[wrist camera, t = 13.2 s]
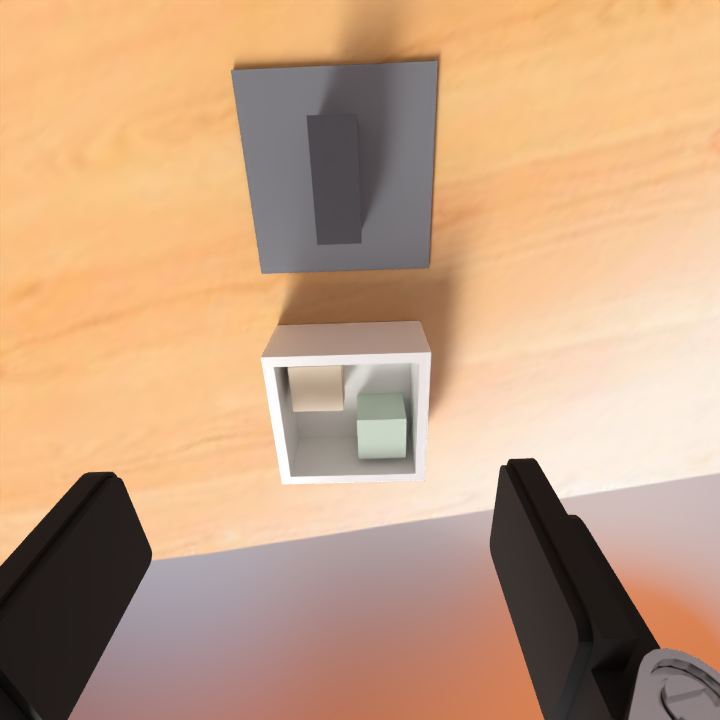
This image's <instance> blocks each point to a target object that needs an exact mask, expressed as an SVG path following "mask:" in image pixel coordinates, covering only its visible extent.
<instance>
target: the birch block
mask: <svg viewBox="0 0 720 720" xmlns="http://www.w3.org/2000/svg"><path fill="white" fill-rule="evenodd" d="M287 368H288V375H289V383H290V390H291V397H292V405H293V412H303V411H340V410H344V399H345V385H346V384H345V368H344V365H329V366H295V367H287Z"/></svg>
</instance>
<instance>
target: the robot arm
mask: <svg viewBox="0 0 720 720" xmlns="http://www.w3.org/2000/svg"><path fill="white" fill-rule="evenodd" d="M490 551H491V556H492V559H493V562H494V565H495V569H496V572H497V575H498V578H499V581H500V584H501V587H502V590H503V593H504V596H505V600H506V603H507V606H508V609H509V612H510V615H511V618H512V621H513V624H514V627H515V631H516V634H517V637H518V640H519V643H520V646H521V649H522V652H523V655H524V658H525V662H526V665H527V668H528V671H529V674H530V677H531V680H532V683H533V686H534V689H535V692H536V696H537V699H538V701H539V705H540V708H541V711H542V714H543V717H544V719H545V720H720V674H719V673H718V672H717V671H716V670H715V669H713V668H712V667H710V666H708V665H707V664H706V663H704V662H703V661H701V660H700V659H698V658H696V657H693V656H691V655H689V654H687V653H685V652H682V651H678V650H673V649H668V648H665V649H661V648H660V646H659V645H658V643H657V642H656V640H655V639H654V637H653V635H652V633H651V632H650V630H649V628H648V627H647V625H646V624H645V622H644V620H643V619H642V617H641V615H640V614H639V612H638V610H637V609H636V607H635V605H634V604H633V602H632V601H631V599H630V597H629V596H628V594H627V592H626V591H625V589H624V587H623V586H622V584H621V582H620V581H619V579H618V578H617V576H616V574H615V573H614V571H613V569H612V568H611V566H610V564H609V563H608V561H607V560H606V558H605V556H604V555H603V553H602V551H601V550H600V548H599V547H598V545H597V543H596V542H595V540H594V538H593V536H592V535H591V533H590V532H589V530H588V528H587V527H586V525H585V524H584V522H583V521H582V520H581V518H579V517H578V516H576V515H568V514H567V513H566V511H565V509H564V507H563V505H562V504H561V502H560V500H559V499H558V497H557V495H556V493H555V492H554V490H553V488H552V486H551V485H550V483H549V481H548V479H547V478H546V476H545V474H544V473H543V471H542V469H541V467H540V466H539V464H538V462H537V461H536V460H535V459H534V458H527V459H509V461H508V463H507V465H502V466H501V467H500V472H499V479H498V487H497V494H496V501H495V508H494V515H493V523H492V529H491V536H490ZM151 559H152V550H151V547H150V545H149V543H148V540H147V538H146V535H145V533H144V531H143V528H142V526H141V523H140V521H139V519H138V516H137V514H136V511H135V509H134V507H133V504H132V502H131V499H130V497H129V494H128V492H127V490H126V487H125V485H124V482H123V481H122V479H121V478H118V477H117V476H116V474H115V473H113V472H88V473H85V474H84V475H82V476H81V477H80V478H79V479H78V481H77V482H76V483H75V484H74V485H73V486H72V487H71V488H70V489H69V491H68V492H67V493H66V494H65V495H64V496H63V497H62V498H61V499H60V501H59V502H58V503H57V504H56V505H55V506H54V507H53V508H52V509H51V511H50V512H49V513H48V514H47V515H46V516H45V517H44V518H43V519H42V521H41V522H40V523H39V524H38V525H37V526H36V527H35V528H34V529H33V531H32V532H31V533H30V534H29V535H28V536H27V537H26V538H25V540H24V541H23V542H22V543H21V544H20V545H19V546H18V547H17V548H16V550H15V551H14V552H13V553H12V554H11V555H10V556H9V557H8V558H7V560H6V561H5V562H4V563H3V564H2V565H1V566H0V720H67V719H68V718H69V716H70V714H71V712H72V710H73V708H74V707H75V705H76V703H77V701H78V699H79V697H80V695H81V693H82V692H83V690H84V688H85V686H86V684H87V682H88V680H89V678H90V676H91V674H92V673H93V671H94V669H95V667H96V665H97V663H98V661H99V660H100V658H101V656H102V654H103V652H104V650H105V648H106V646H107V644H108V643H109V641H110V639H111V637H112V635H113V633H114V631H115V629H116V628H117V626H118V624H119V622H120V620H121V618H122V616H123V614H124V612H125V611H126V609H127V607H128V605H129V603H130V601H131V599H132V597H133V595H134V594H135V592H136V590H137V588H138V586H139V584H140V582H141V580H142V579H143V577H144V575H145V573H146V571H147V569H148V567H149V565H150V563H151Z"/></svg>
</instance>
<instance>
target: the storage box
mask: <svg viewBox="0 0 720 720" xmlns="http://www.w3.org/2000/svg"><path fill="white" fill-rule="evenodd" d="M261 361H262V367H263V373H264V379H265V385H266V391H267V397H268V402H269V408H270V414H271V420H272V426H273V432H274V438H275V444H276V450H277V456H278V462H279V468H280V474H281V480H282V484H314V483H356V482H398V481H425V467H426V447H427V428H428V408H429V388H430V369H431V350H430V347H429V344H428V341H427V339H426V336H425V333H424V330H423V327H422V324H421V322H420V321H395V322H364V323H332V324H301V325H277V326H276V328H275V330H274V332H273V334H272V336H271V338H270V340H269V342H268V344H267V346H266V348H265V350H264V352H263V354H262V356H261ZM329 365H344V368H345V384H346V385H345V399H344V410H340V411H303V412H293V405H292V397H291V390H290V383H289V375H288V368H287V367H295V366H329ZM370 393H402V395H403V401H404V407H405V413H406V419H407V422H406V458H375V459H359V456H358V436H357V394H370Z"/></svg>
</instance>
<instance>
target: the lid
mask: <svg viewBox="0 0 720 720" xmlns="http://www.w3.org/2000/svg"><path fill="white" fill-rule="evenodd" d="M437 66H438V61H422V62H400V63H377V64H355V65H333V66H311V67H289V68H267V69H245V70H231V74H232V81H233V88H234V94H235V101H236V107H237V114H238V121H239V127H240V134H241V140H242V147H243V154H244V160H245V167H246V173H247V180H248V187H249V193H250V200H251V206H252V213H253V220H254V226H255V233H256V239H257V246H258V253H259V259H260V266H261V272H262V274H270V273H298V272H327V271H355V270H383V269H412V268H429V250H430V227H431V204H432V181H433V158H434V135H435V112H436V89H437Z"/></svg>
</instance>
